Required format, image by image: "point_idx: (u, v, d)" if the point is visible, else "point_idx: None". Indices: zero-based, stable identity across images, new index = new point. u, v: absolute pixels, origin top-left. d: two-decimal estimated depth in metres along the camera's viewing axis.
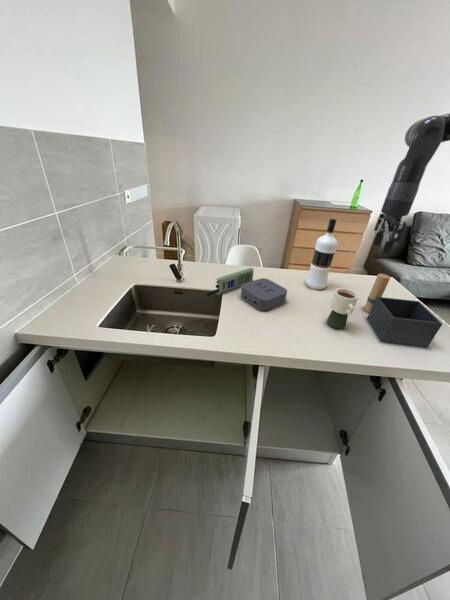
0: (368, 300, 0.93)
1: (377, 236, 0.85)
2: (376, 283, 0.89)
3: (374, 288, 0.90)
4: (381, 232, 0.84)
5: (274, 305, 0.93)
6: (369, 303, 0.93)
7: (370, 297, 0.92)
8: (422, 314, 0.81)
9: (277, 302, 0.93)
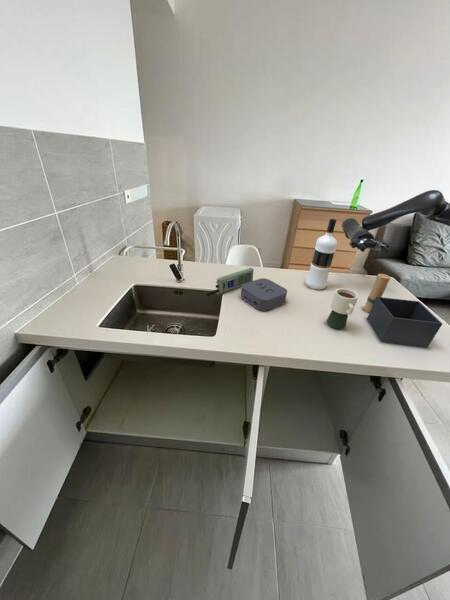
0: (368, 300, 0.93)
1: (381, 250, 0.99)
2: (376, 283, 0.89)
3: (374, 288, 0.90)
4: (381, 247, 1.00)
5: (274, 305, 0.93)
6: (369, 303, 0.93)
7: (370, 297, 0.92)
8: (422, 314, 0.81)
9: (277, 302, 0.93)
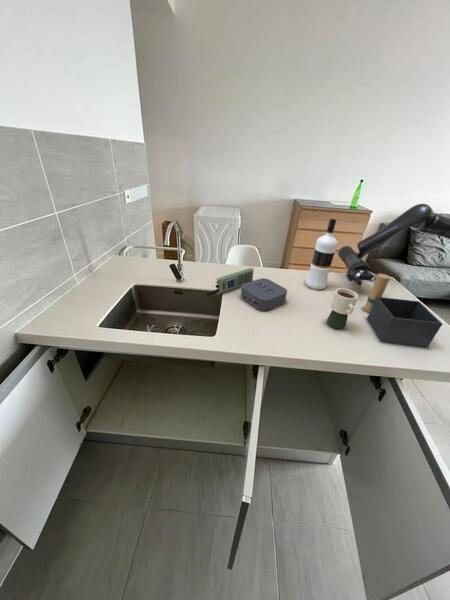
0: (368, 300, 0.93)
1: None
2: (376, 283, 0.89)
3: (374, 288, 0.90)
4: None
5: (274, 305, 0.93)
6: (369, 303, 0.93)
7: (370, 297, 0.92)
8: (422, 314, 0.81)
9: (277, 302, 0.93)
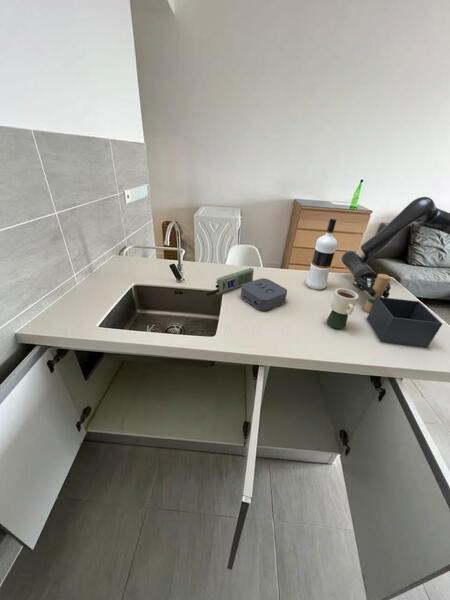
0: (368, 300, 0.93)
1: None
2: (376, 283, 0.89)
3: (374, 288, 0.90)
4: None
5: (274, 305, 0.93)
6: (369, 303, 0.93)
7: (370, 297, 0.92)
8: (422, 314, 0.81)
9: (277, 302, 0.93)
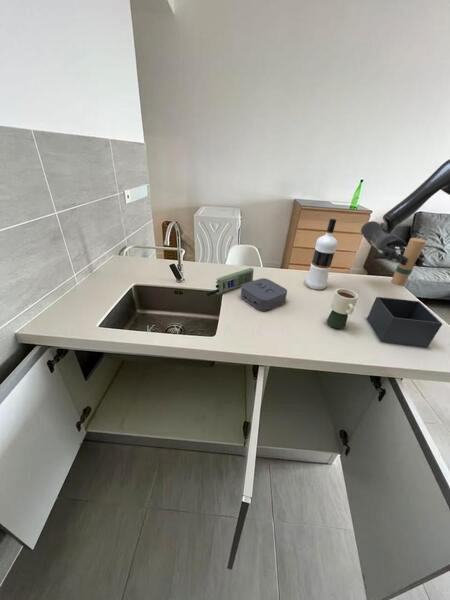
0: (397, 270, 0.80)
1: None
2: (408, 249, 0.76)
3: (405, 255, 0.77)
4: None
5: (274, 305, 0.93)
6: (398, 274, 0.80)
7: (400, 266, 0.79)
8: (422, 314, 0.81)
9: (277, 302, 0.93)
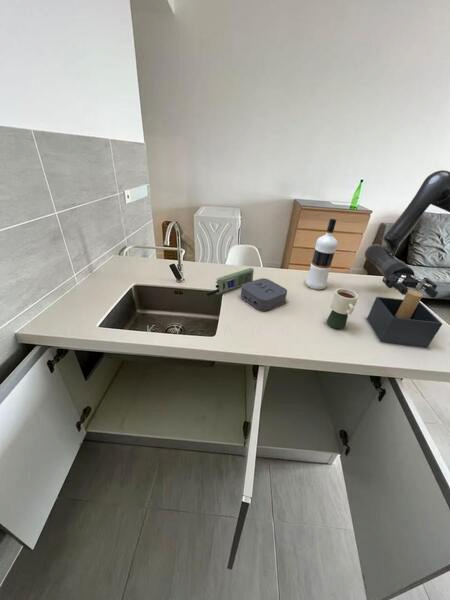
0: None
1: (427, 292, 0.77)
2: (405, 301, 0.77)
3: (403, 307, 0.78)
4: (426, 287, 0.77)
5: (274, 305, 0.93)
6: None
7: (397, 316, 0.81)
8: (422, 314, 0.81)
9: (277, 302, 0.93)
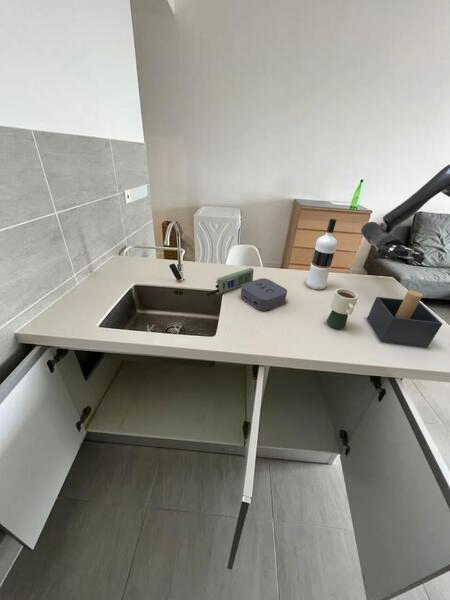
0: None
1: (415, 259, 0.85)
2: (405, 301, 0.77)
3: (403, 307, 0.78)
4: (414, 255, 0.86)
5: (274, 305, 0.93)
6: None
7: (397, 316, 0.81)
8: (422, 314, 0.81)
9: (277, 302, 0.93)
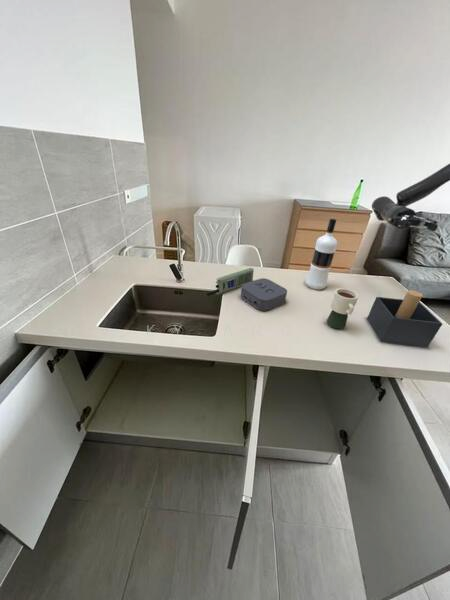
0: None
1: (428, 227, 0.85)
2: (405, 301, 0.77)
3: (403, 307, 0.78)
4: (427, 224, 0.86)
5: (274, 305, 0.93)
6: None
7: (397, 316, 0.81)
8: (422, 314, 0.81)
9: (277, 302, 0.93)
